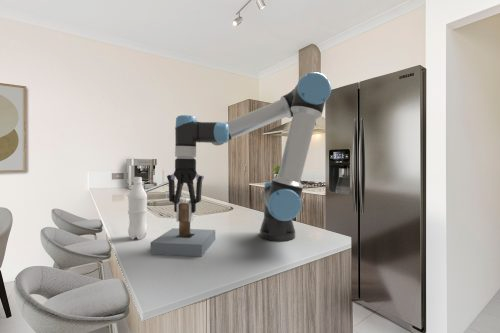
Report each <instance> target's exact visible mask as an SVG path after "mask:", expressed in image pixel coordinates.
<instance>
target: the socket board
mask: <svg viewBox="0 0 500 333" xmlns="http://www.w3.org/2000/svg"><path fill="white" fill-rule="evenodd" d="M215 241H216V229H204V228H203V229H199V228H190V236H189V237H179V227H177V228H176V227H172V228H171V229H169V230H168V231H166V232H164V233H163V234H161V235H160V236H158V237H157V238H155V239H153V240H151V241H150V255H161V254H163V255H164V256H165V255H166V256H181V257H182V256H185V257H200V258H201V257H203V255H205V253H206V252H207V251H208V249H209V248H210V247H211V246H212V244H213V243H215ZM163 255H162V256H163Z"/></svg>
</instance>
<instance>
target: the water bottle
mask: <svg viewBox="0 0 500 333" xmlns="http://www.w3.org/2000/svg"><path fill="white" fill-rule="evenodd" d="M142 179H143V177H141V176H135V177H133V182H132V183H133V186H132V188H131V191H130V192H129V194H128V197H127V200H128V210H127V214H128V218H129V220H128V221H129V223H128V224H129V225H128V229H127V230H128V231H127V232H128V236H129V238H130V240H131V241H132V240H135V239H136V238H137V240H142V239H143V238H146V237H147V234H148V225H147V215H148V194H147V192H146V190H145V189H144V186H143V181H142Z"/></svg>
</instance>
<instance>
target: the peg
mask: <svg viewBox="0 0 500 333" xmlns="http://www.w3.org/2000/svg"><path fill="white" fill-rule="evenodd" d="M179 203H180V204H179V222H178V224H179V225H178V228H179V237H189V236H190V229H191V222H189V204H190V203H191V202H179Z"/></svg>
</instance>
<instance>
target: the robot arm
mask: <svg viewBox="0 0 500 333" xmlns="http://www.w3.org/2000/svg"><path fill="white" fill-rule="evenodd" d="M331 93H332V85H331V81H330V80H329V79H328V78H327V76H326V75H325V74H323V73H320V72H316V71H312V72H308V73H307V74H304V75H303V76H302V77H300V78H299V80H298V82H297V84H296V86H295V87H294V88H293V89H292V90H291V91H289V92H288V93H286V94H284V95H282V96H281V97H280V99H279V100H276V101H274V102H271V103H269V104H267V105H265V106H261V107H259V108H257V109H255V110H252V111H250V112H247V113H245V114H242V115H240V116H238V117H235V118H232V119H230V120H228V121H225V122H221V121H216V122H215V121H213V122H212V121H211V122H210V121H206V122H205V121H204V122H203V121H202V122H201V121H198V120H197V116H194V115H188V114H186V115H185V114H184V115H183V114H182V115H178V116H177V117H176V118H175V127H174V131H175V133H174V134H175V135H174V136H175V144H174V145H175V148H174V150H175V151H174V157H175V159H174V168H175V169H174V171H173V173H172V174H168V175H167V176H166V178H167V181H168V201H169V202H171V203H173V204H174V207H173V209H174V210H173V211H174V213H176V220H175V222H177V223H179V204H180V203H181V196H182V192H183V186H184V184H186V185H187V190H188V194H189V200H190V202H189V203H190V204H189V222H190V223H192V222H193V221H194V213H196V212H197V210H196V209H197V208H196V207H197V203H200V202H202V186H203V180H204V178H205V177H204V176H203V175H200V174H198V172H197V159H195V158H196V157H197V143H206V144H207V143H208V144H212V145H214V146H221V145H224V144H225V143H226V144H227V143H228V142H229V141H231V140H233V139H236V138H238V137H241V136H243V135H246V134H249V133H250V132H253V131H255V130H258V129H260V128H263V127H265V126H267V125H269V124H270V125H271V124H272V123H275V122H278V121H279V120H282V119H285V118H288V119H291V122H290V126H289V129H288V134H287V137H286V142H285V146H284V149H283V153H282V158H281V160H280V161H281V162H280V165H279V169H278V174H277V176H275V177H274V178H273V179H272V181H267V182H265V183H264V187H263V193H264V194H263V195H264V199H263V208H264V209H263V210H264V211H263V220H262V223H261V226H260V229H259V236H260V237H261V238H263V239H265V240H269V241H275V242H276V241H279V242H283V241H285V242H286V241H290V240H293V239H295V238H296V229H295V225H294V222H293V220H294V219H296V217H297V216H298V215H299V214H300V212H301V210H302V199H301V197H302V193H303V190H304V186H303V184H302V183H301V180H302V176H303V173H304V168H305V163H306V160H307V156H308V153H309V148H310V144H311V141H312V136H313V134H314V130H315V125H316V122H317V119H318V118H320V117H322V115H323V112H324V107H325V104H326V102H327V101H328V99H330V96H331ZM175 179H176V180H177V183H176V186H175ZM195 179H196V191H195V187H194V180H195ZM175 188H176V189H175Z"/></svg>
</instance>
